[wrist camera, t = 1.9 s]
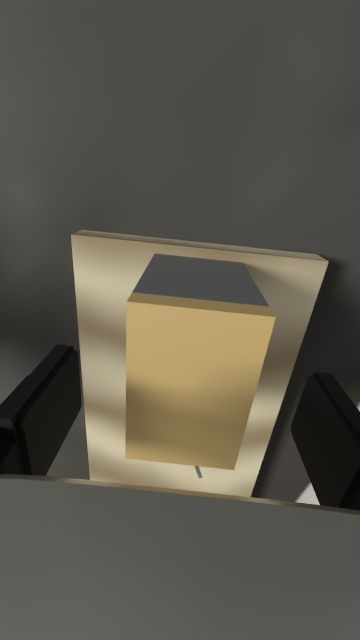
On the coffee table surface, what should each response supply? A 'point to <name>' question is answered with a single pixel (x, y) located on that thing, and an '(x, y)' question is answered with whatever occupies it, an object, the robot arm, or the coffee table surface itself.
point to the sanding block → (193, 360)
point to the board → (110, 350)
